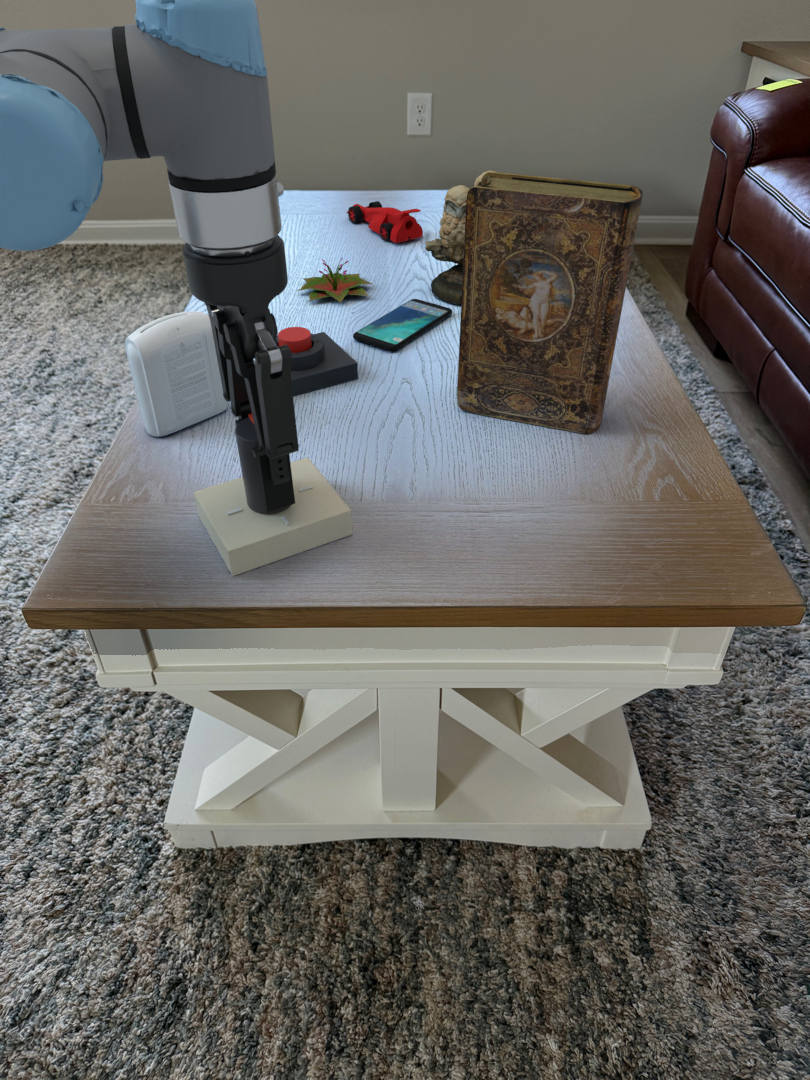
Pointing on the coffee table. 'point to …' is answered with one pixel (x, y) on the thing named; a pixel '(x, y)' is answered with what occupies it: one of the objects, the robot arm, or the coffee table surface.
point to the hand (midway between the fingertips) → (269, 490)
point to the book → (543, 297)
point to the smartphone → (402, 324)
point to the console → (273, 520)
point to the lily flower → (334, 284)
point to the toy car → (387, 221)
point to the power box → (321, 365)
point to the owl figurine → (451, 244)
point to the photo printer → (175, 372)
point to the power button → (295, 339)
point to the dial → (251, 466)
